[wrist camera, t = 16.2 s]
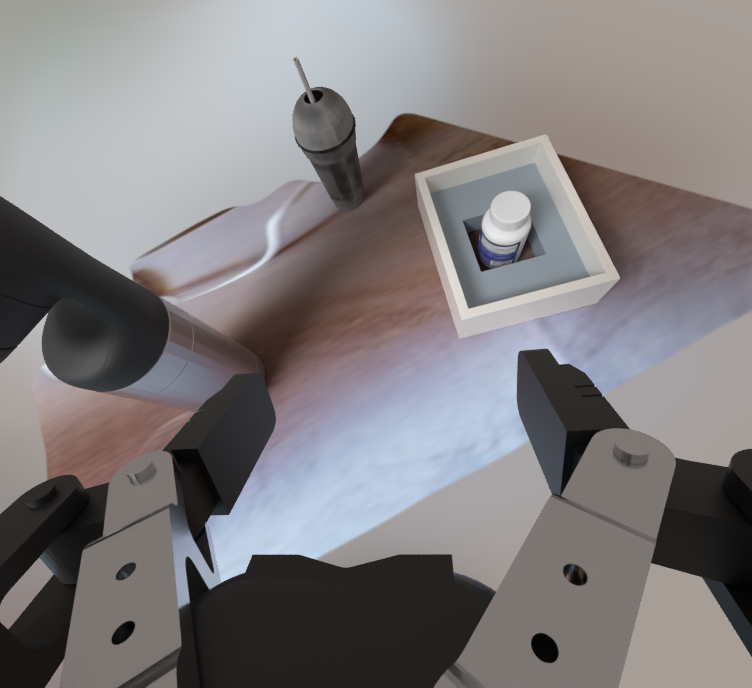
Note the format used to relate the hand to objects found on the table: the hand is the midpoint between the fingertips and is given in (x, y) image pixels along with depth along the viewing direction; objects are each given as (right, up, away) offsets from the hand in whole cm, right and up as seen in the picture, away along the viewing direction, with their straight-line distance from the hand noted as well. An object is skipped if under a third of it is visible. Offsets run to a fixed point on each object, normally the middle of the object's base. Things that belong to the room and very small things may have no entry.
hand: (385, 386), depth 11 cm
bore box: (+15, +13, +34) cm, 40 cm away
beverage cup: (-4, +23, +41) cm, 47 cm away
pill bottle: (+15, +13, +35) cm, 40 cm away
